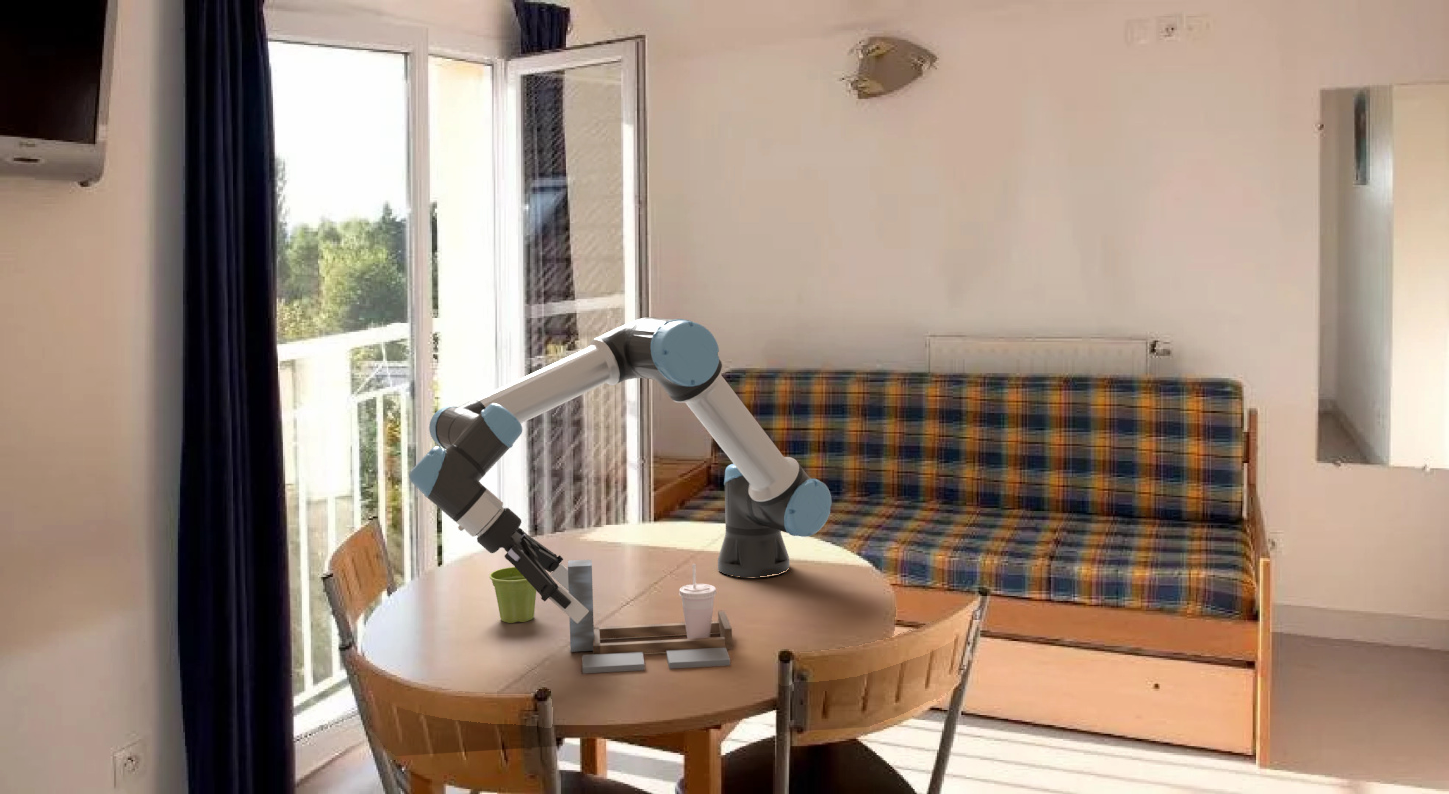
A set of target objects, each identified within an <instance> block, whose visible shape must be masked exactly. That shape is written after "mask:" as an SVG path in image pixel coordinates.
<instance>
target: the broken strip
mask: <svg viewBox="0 0 1449 794" xmlns="http://www.w3.org/2000/svg"><path fill="white" fill-rule="evenodd" d="M665 654H666V660H667V664H668V665H667V666H668V669H671V670H672V669H687V668H691V669H692V668H705V667H707V668H709V667H723V666H731V658H730V656H729V653H728V649H726V647H724V648H705V649H686V650H667V651H666V653H665ZM581 658H582V662H581V663H582V674H596V673H617V672H618V673H619V672H633V671H645V669H646V668H645V659H644V654H643V652H630V653H611V654H593V653H592V654H582V657H581Z"/></svg>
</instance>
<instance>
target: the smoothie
mask: <svg viewBox="0 0 1449 794" xmlns="http://www.w3.org/2000/svg"><path fill="white" fill-rule="evenodd" d="M691 565H692V584H686V585H683V586H681V587H680V588H679V593H678V594H679V595H678V596H679V597H681V605H682V610H683V617H684V623H685V626H686V633H687V635H686V637H687V638H686V639H694V638H711V633H710V632H711V622H712V621H713V612H714V602H715V596H716V595H717V588H716V586H714V585H711V584H707V583H697V570H696V569H697V567H696V565H697V564H696V563H692V564H691Z"/></svg>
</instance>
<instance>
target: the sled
mask: <svg viewBox="0 0 1449 794" xmlns="http://www.w3.org/2000/svg"><path fill="white" fill-rule="evenodd" d="M592 562H593V561H592V559H575V560H574V559H572V560H567V569H568V586H569V591H568V592H569V593H570V594H571V595H572V596H573V597H574V598H575V599H576V600H578V601H579V602H580V603H581V604H582V605H583V606H584V607H585V608H587V609H588V610H589V612H588V613H587V614H586V615H585V616H584V617H583V618H582V620H581V621H580V622H579V623H578V624H577V623H576V622H575V621H574V620H573V619H572V618H570V617H569V643H570V645H569V646H570V652H571V653H572V652H573V653H574V652H575V653H576V652H590V651H592V655H593V654H611V653H630V652H643V655H646V654H649V655H650V654H663V653H665V654H666V651H667V650H686V649H705V648H724V647H726V650H732V649H733V636H732V635H733V629H732V626H731V622H730V620H729V619H728V616H727V612H726V611H725V610H718V611H717V618H718V619H717V620H712V622H711V632H710V634H719V636H718V637H715V636H714V637H710V638H694V639H687V638H679V639H678V638H677V639H676V638H675V639H662V640H661V639H657V640H641V641H638V640H637V641H626V642H625V641H624V642H623V641H622V642H621V641H617V642H602V643H601V640H608V639H626V638H627V639H629V638H646V637H648V638H649V637H666V636H667V637H668V636H687V633H686V626H685V622H676V623H675V622H672V623H655V624H654V623H652V624H634V625H633V624H632V625H615V626H614V625H612V626H595V625H594V622H595V621H594V600H593V599H594V596H593V563H592Z"/></svg>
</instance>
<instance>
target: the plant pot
mask: <svg viewBox="0 0 1449 794" xmlns="http://www.w3.org/2000/svg"><path fill="white" fill-rule="evenodd" d="M488 576H489V580H491V582H492V586H493V587H494V591H495V595H496V596H495V597H496V601H497V605H498V612H499V617H500V620H501V621H502V622H504V623H508V624H514V623H516V622H520V623H525V622H529V621H531V620H533V619H534V617H535V611H536V610H535V609H536V598H537V591H536V590H535V588H534V587H533V586H532V585H531V584H530V583H529V582H528V581H527V580H526V578H525V577H524V576H523V575H522V574H521V573H520V572H519V571H518V570H517V569H516V567H515V566H511V567H510V566H509V567H504V568H499V569H497V570H494V571H492V572H490V573H489V575H488Z"/></svg>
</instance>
